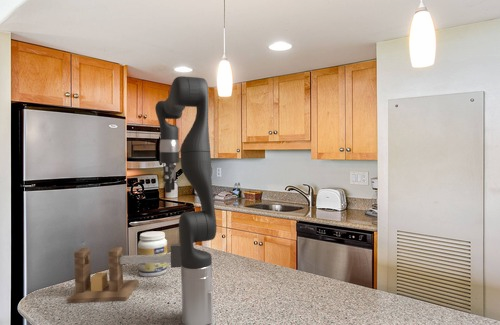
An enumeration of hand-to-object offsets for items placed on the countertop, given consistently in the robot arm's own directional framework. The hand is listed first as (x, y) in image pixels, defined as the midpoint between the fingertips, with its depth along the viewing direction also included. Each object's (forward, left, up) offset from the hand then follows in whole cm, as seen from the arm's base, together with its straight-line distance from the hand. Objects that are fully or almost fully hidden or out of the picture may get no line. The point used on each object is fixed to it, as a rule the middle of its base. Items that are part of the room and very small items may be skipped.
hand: (170, 191), depth 135 cm
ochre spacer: (+23, +10, -32) cm, 41 cm away
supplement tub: (+9, -9, -36) cm, 39 cm away
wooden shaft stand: (+23, +11, -36) cm, 44 cm away
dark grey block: (+6, +11, -27) cm, 30 cm away
